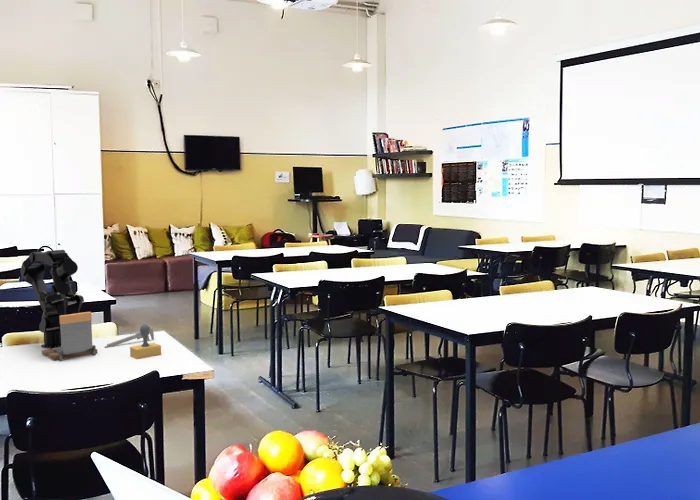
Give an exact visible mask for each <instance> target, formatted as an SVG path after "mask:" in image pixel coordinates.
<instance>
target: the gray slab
mask: <svg viewBox="0 0 700 500" xmlns="http://www.w3.org/2000/svg"><path fill="white" fill-rule="evenodd" d="M92 315H93V314H92V311H85V312H79V313H76V314H71V313H70V314H66V315H62V316H59V318H60V329H61V346H60V347H61V349H62V356H63V355H68V354H74V353H80V352H86V351H92V350H93V347H92V345H93V331H92V330H93V329H92V328H93V327H92V320H93V318H92V317H93V316H92Z"/></svg>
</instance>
